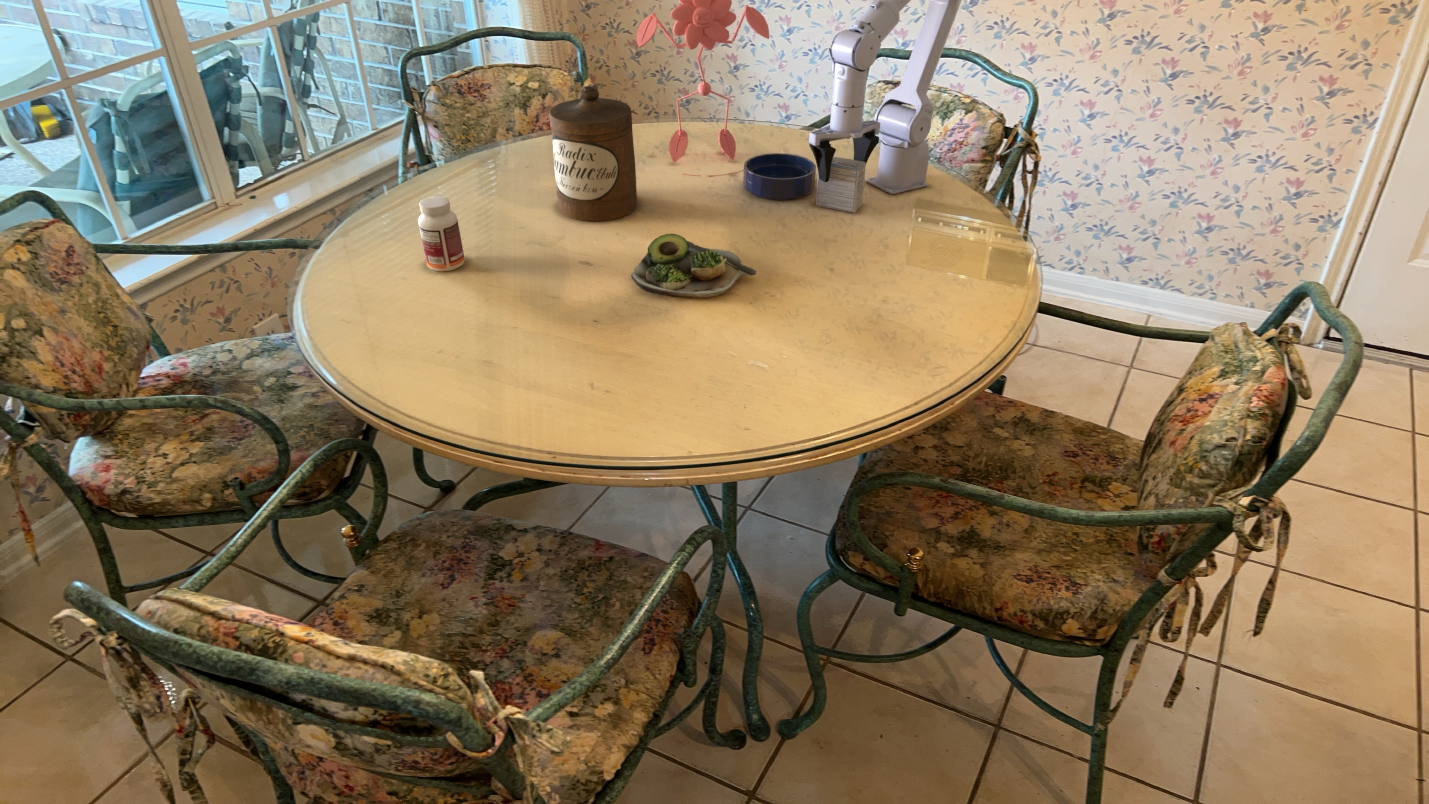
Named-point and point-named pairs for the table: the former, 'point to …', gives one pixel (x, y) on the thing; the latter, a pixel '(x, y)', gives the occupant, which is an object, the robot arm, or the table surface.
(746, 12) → the figurine
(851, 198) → the medicine box
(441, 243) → the pill bottle
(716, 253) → the salad plate
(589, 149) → the wooden container
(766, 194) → the bowl
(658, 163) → the table surface
